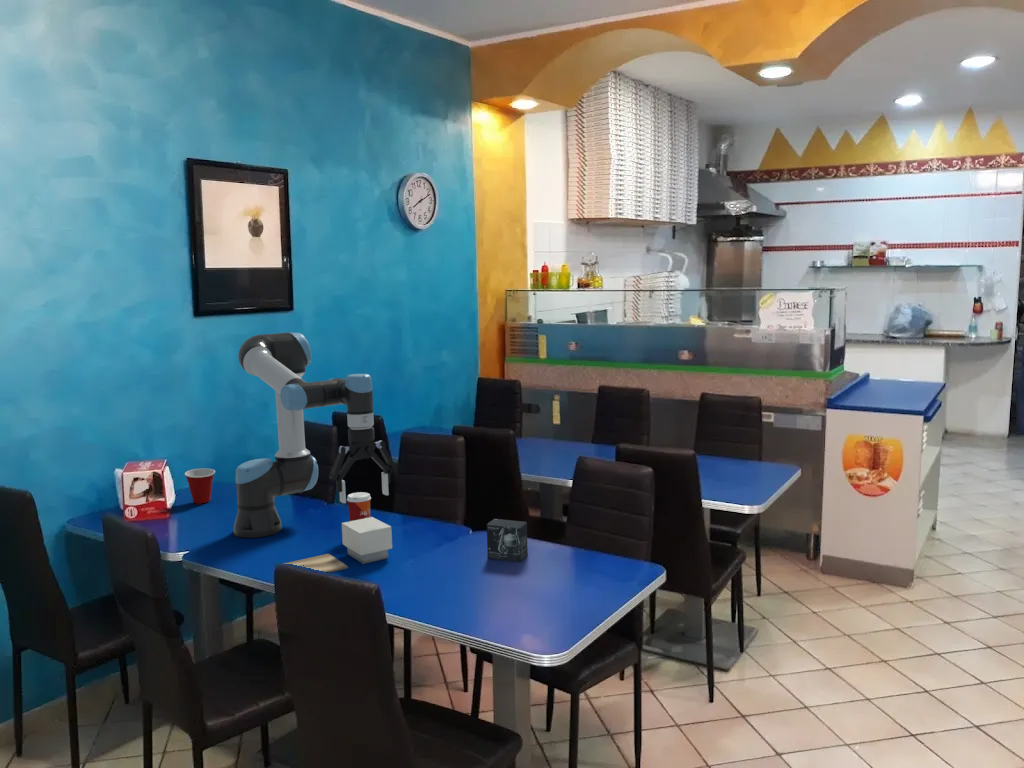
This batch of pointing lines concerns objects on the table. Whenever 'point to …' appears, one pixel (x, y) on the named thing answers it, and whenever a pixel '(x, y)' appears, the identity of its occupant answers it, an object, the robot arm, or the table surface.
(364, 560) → the dough box
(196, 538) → the table surface
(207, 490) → the plastic cup
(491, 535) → the box
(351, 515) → the paper cup
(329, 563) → the trivet
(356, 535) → the lid
